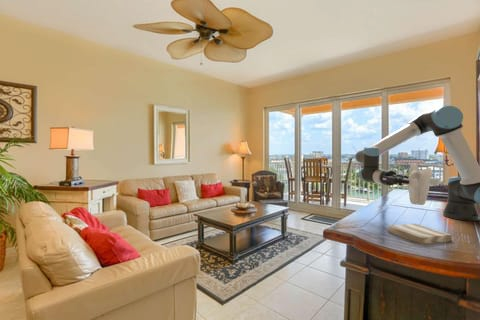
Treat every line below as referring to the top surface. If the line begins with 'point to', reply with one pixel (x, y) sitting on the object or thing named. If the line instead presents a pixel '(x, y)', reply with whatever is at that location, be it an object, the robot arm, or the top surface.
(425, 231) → the striped wooden trivet
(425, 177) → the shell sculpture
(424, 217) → the top surface
